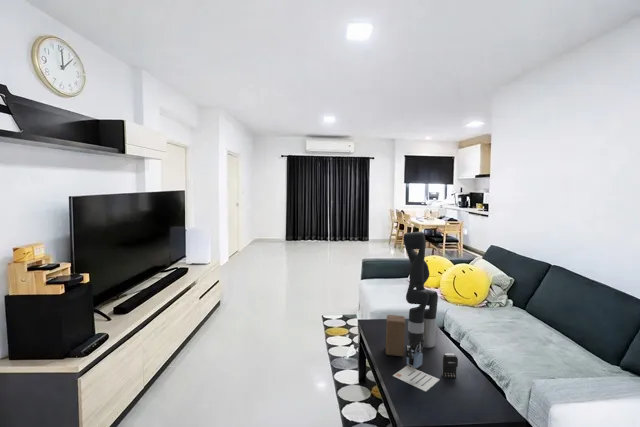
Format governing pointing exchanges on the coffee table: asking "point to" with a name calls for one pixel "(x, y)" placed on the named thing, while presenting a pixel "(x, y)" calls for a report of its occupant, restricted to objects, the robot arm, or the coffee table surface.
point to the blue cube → (416, 359)
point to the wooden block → (395, 335)
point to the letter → (416, 378)
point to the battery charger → (449, 365)
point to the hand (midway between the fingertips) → (414, 362)
